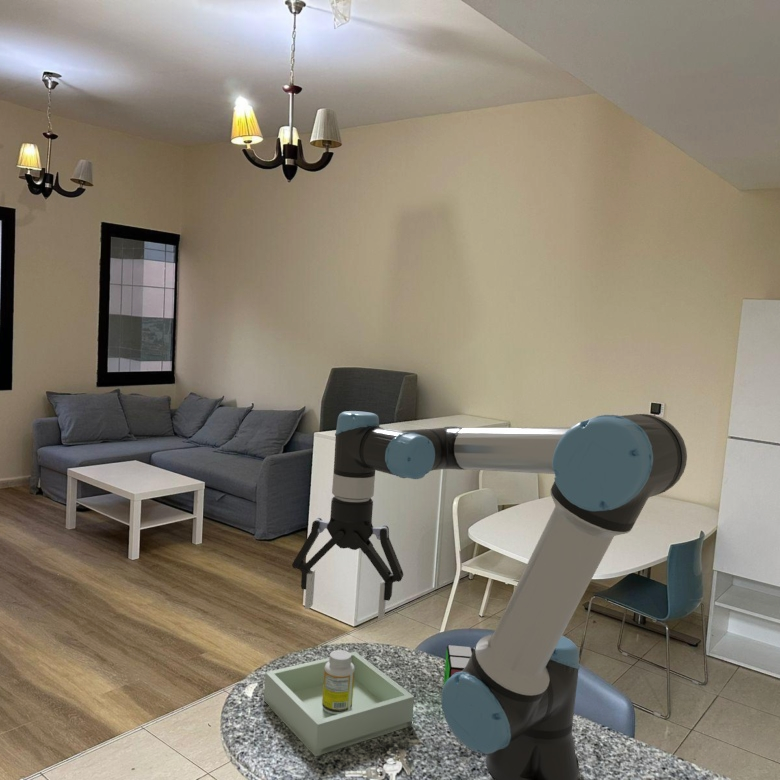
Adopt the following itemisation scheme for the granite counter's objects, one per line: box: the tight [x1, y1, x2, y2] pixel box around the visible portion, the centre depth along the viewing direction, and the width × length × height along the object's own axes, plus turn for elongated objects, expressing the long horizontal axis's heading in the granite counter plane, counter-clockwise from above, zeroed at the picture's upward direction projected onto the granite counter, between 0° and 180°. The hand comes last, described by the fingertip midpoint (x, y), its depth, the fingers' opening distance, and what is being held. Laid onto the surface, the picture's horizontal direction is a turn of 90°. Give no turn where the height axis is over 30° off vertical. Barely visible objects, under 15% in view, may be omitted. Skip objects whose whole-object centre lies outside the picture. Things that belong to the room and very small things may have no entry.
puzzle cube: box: [442, 644, 476, 718], centre depth 136 cm, size 10×10×10 cm
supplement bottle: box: [322, 649, 355, 715], centre depth 130 cm, size 6×6×10 cm
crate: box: [263, 651, 415, 757], centre depth 131 cm, size 20×20×6 cm
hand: (344, 611), depth 129 cm, fingers open, 13 cm apart
